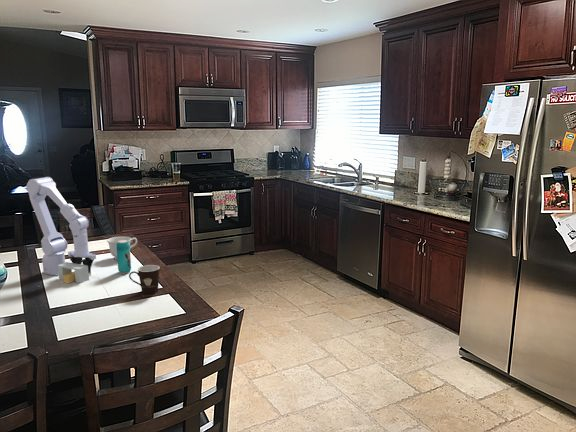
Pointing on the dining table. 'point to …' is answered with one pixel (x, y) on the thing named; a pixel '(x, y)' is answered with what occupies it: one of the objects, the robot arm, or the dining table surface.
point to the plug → (71, 276)
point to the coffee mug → (148, 278)
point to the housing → (80, 271)
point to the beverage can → (123, 256)
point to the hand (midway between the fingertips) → (83, 272)
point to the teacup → (113, 243)
